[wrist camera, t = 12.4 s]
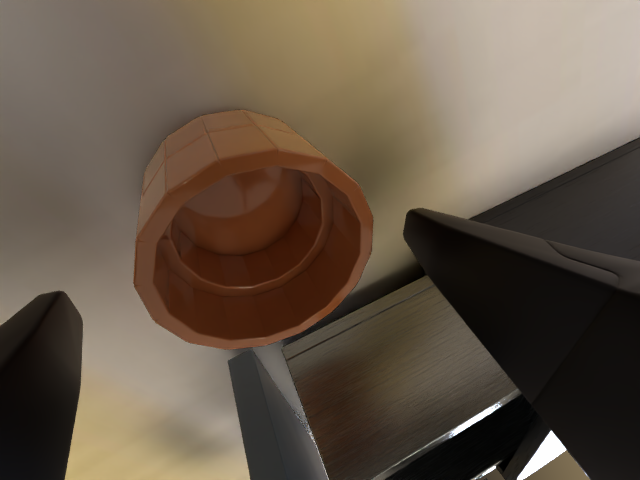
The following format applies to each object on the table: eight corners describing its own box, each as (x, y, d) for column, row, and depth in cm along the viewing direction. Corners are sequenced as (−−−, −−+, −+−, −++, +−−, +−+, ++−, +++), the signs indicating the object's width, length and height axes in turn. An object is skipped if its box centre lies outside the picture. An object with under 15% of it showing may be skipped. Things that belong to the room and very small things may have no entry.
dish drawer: (230, 491, 22) (251, 635, 17) (109, 418, 13) (76, 662, 8) (473, 353, 25) (551, 436, 20) (496, 227, 17) (640, 315, 12)
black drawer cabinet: (424, 371, 26) (510, 487, 19) (423, 240, 16) (587, 378, 10) (575, 286, 28) (694, 362, 22) (646, 134, 19) (883, 189, 13)
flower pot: (259, 283, 14) (289, 362, 10) (107, 227, 10) (81, 324, 7) (346, 172, 12) (410, 225, 9) (208, 61, 9) (234, 84, 5)
